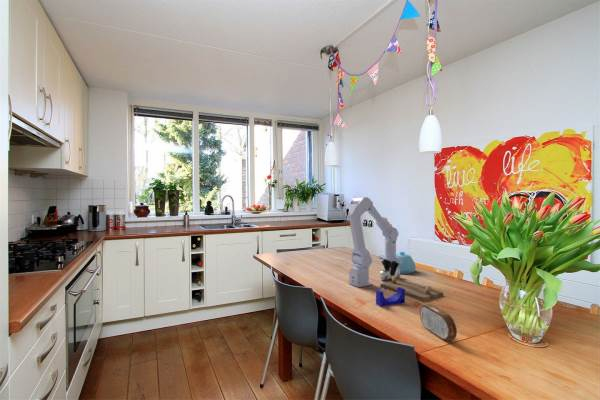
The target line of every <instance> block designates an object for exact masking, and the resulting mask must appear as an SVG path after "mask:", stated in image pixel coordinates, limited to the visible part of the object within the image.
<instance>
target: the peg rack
mask: <svg viewBox="0 0 600 400" xmlns="http://www.w3.org/2000/svg"><path fill="white" fill-rule="evenodd" d="M379 286H380V288H382V289H385V290H388V291H390V292H394V293H396V292H397V288H398V287H401V288H403V289H405V297H409V298H410V299H411V298H412V299H415V300H417V301H420V302H422V303H423V302H426V301H430V300H433V299H436V298H440V297H443V296H444V292H443V291H439V290H436V289H433V288H431V286H429V285H427V286H422V285H419V284H416V283H412V282H409V281H406V280H401V279H397V277H395V276H393V277H392V278H391V281H388V282H382V283H380V285H379Z"/></svg>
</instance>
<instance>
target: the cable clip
mask: <svg viewBox="0 0 600 400" xmlns="http://www.w3.org/2000/svg"><path fill="white" fill-rule="evenodd" d="M402 303H403V304H405V303H406V296H405V289H403V288H401V287H398V288H397V292H394V293H392V294H391V295H390V296H389V297H387V298H386V296H385V295H384V291H382V290H381V289H375V305H377V306H378V307H387V306H394V305H395V304H396V305H402Z"/></svg>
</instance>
